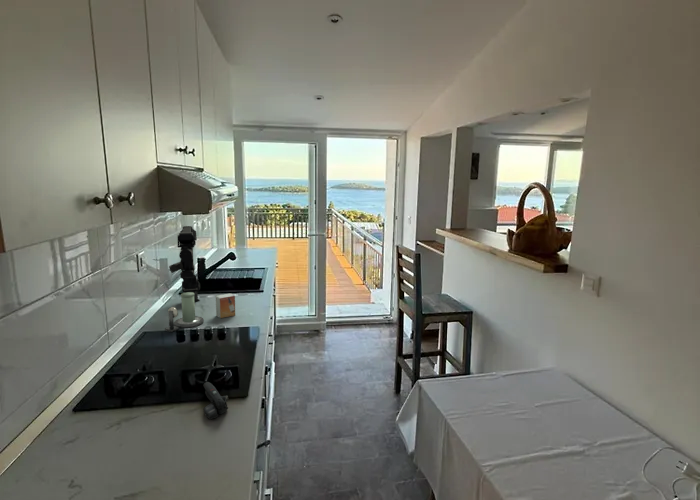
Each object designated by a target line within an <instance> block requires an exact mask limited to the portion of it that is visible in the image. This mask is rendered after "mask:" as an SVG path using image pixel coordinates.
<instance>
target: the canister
mask: <svg viewBox="0 0 700 500" xmlns="http://www.w3.org/2000/svg"><path fill="white" fill-rule="evenodd" d="M180 298H181V314H182V317H181V318H183V322H193V321H195V316H196V306H195V305H196V302H194V293H193V292H186V293H184V292H182V293H181V294H180Z"/></svg>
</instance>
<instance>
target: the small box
mask: <svg viewBox="0 0 700 500" xmlns="http://www.w3.org/2000/svg"><path fill="white" fill-rule="evenodd" d="M215 315H216V317H218V319H224V318H228V317H235V316H236V296H235V294H232V292H231V293H225V294H220V295H216V296H215Z"/></svg>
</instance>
